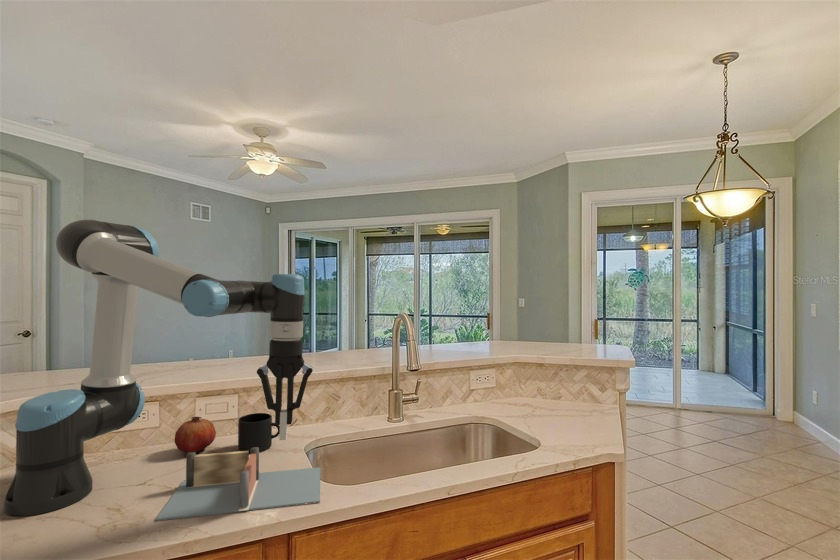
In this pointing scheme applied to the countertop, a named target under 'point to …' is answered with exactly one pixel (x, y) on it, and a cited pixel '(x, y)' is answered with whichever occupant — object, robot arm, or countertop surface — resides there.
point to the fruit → (195, 435)
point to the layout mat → (265, 494)
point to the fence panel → (247, 481)
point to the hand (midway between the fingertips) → (283, 437)
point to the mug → (256, 431)
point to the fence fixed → (217, 467)
